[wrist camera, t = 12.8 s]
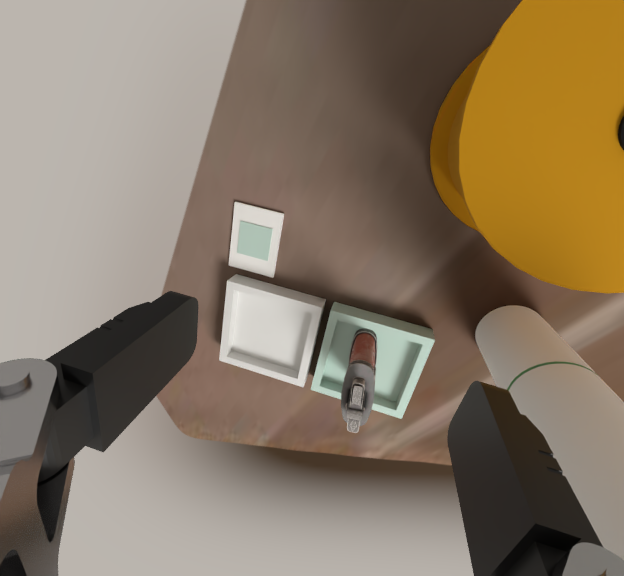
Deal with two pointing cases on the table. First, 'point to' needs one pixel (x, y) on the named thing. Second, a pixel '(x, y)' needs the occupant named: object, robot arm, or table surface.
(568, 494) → the robot arm
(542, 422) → the cylindrical container
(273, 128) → the table surface
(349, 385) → the lighter
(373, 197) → the table surface
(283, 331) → the white tray
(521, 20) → the spool
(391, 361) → the green tray
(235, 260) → the card
